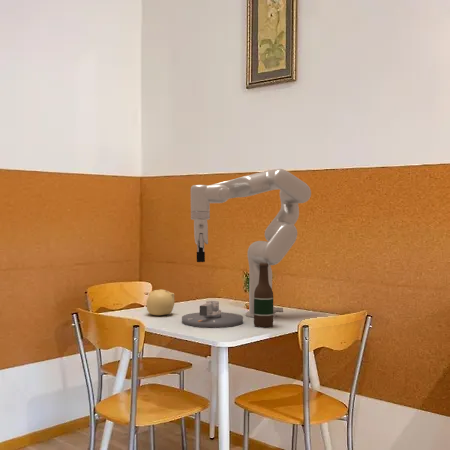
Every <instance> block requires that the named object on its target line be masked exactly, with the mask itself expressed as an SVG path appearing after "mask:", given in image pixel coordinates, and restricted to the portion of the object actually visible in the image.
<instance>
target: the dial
mask: <svg viewBox="0 0 450 450" xmlns="http://www.w3.org/2000/svg"><path fill="white" fill-rule="evenodd" d="M205 302H206V303H204V304H201V305H199V313H200V315H201V316H204V317H207V318H218V317H221V312H222V310H221V309H220V302H219V301H218V300H208V301H205Z"/></svg>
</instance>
